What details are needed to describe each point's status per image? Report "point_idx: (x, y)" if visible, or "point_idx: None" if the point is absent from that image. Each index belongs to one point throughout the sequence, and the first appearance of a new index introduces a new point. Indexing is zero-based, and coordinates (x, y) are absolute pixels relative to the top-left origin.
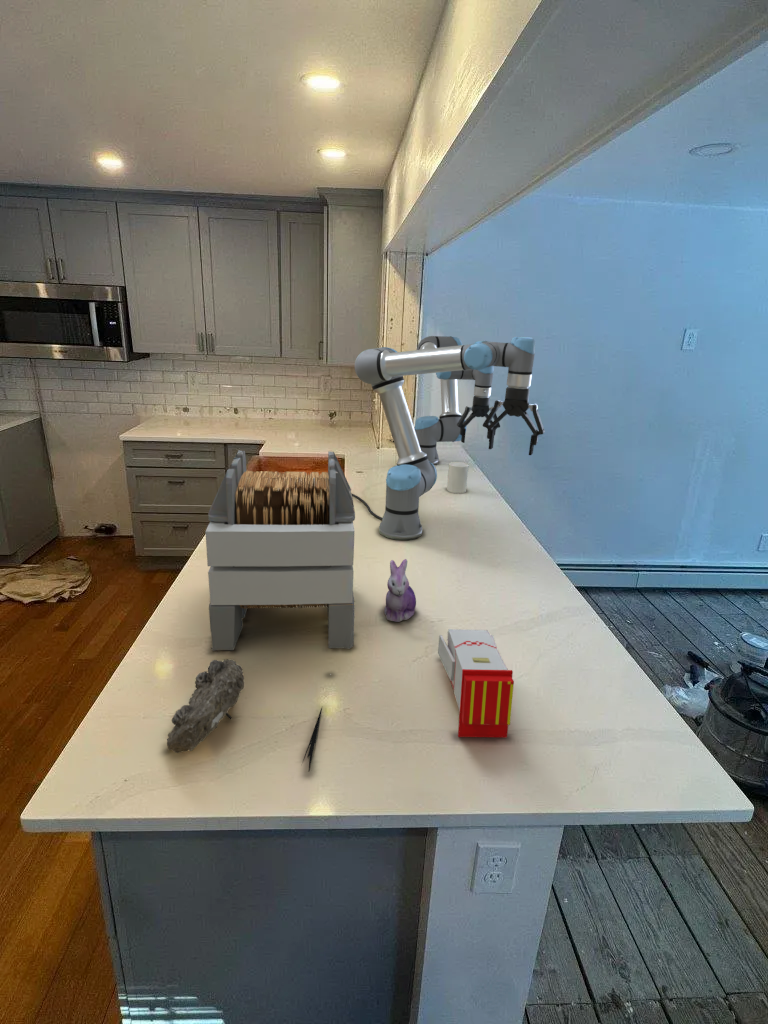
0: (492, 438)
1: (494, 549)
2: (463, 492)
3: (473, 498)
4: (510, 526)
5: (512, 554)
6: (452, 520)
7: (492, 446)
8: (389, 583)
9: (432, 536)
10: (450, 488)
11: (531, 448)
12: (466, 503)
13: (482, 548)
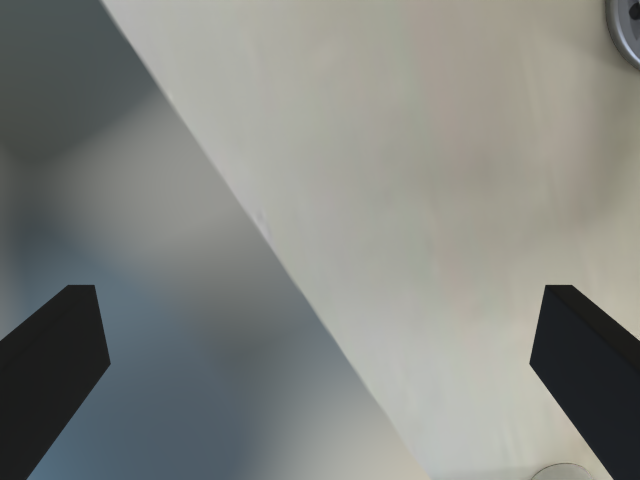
0: (621, 394)
1: (305, 25)
2: (533, 478)
3: (491, 448)
4: (317, 276)
5: (233, 14)
6: (517, 224)
7: (543, 355)
8: None
9: (558, 18)
10: (584, 475)
11: (19, 328)
12: (504, 397)
13: (348, 7)
